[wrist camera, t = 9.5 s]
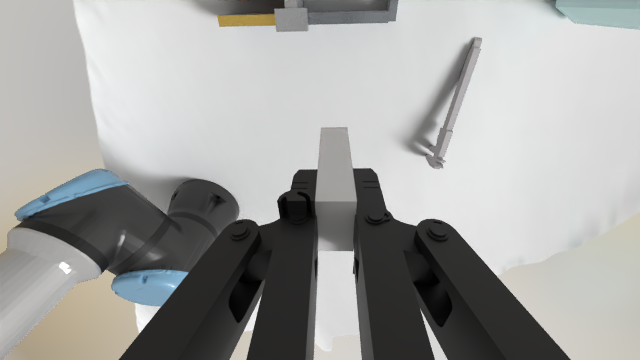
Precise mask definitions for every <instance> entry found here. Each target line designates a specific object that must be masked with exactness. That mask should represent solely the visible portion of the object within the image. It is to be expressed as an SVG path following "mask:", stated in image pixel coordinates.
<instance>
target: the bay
mask: <svg viewBox="0 0 640 360" xmlns="http://www.w3.org/2000/svg"><path fill="white" fill-rule="evenodd" d="M397 6H398V0H387V8H386V11H385V10H368V11H328V12H308V25H310V24H356V23H388V21H396V13H397ZM217 17H218V21H219V26H220V27H225V26H270V25H276V21H275V13H250V14H227V15H219V16H217Z"/></svg>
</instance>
